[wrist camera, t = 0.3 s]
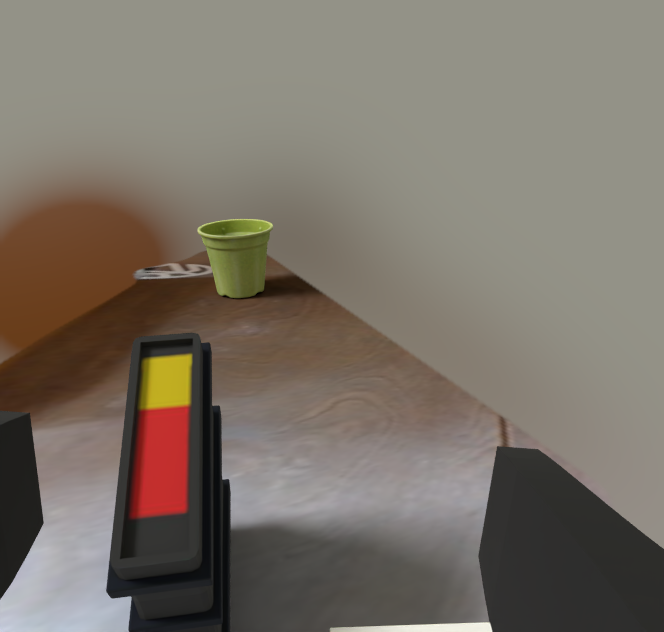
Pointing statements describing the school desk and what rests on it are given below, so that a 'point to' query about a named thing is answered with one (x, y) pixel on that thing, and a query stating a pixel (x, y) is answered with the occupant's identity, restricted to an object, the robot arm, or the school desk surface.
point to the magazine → (172, 493)
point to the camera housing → (420, 628)
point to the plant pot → (237, 255)
